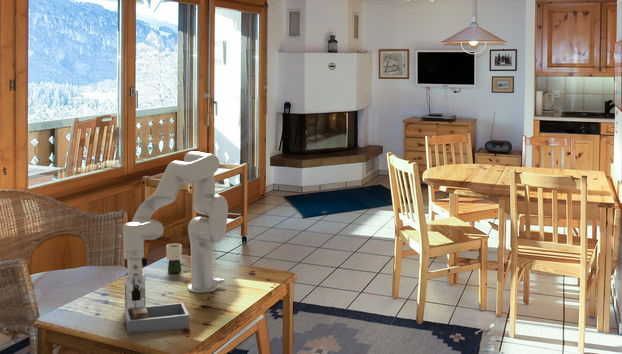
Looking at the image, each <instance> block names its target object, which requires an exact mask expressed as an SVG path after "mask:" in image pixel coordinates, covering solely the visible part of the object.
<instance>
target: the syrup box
mask: <svg viewBox="0 0 622 354" xmlns="http://www.w3.org/2000/svg"><path fill="white" fill-rule="evenodd" d="M142 275H143V283H142V284H141V283H140V282H139V286H140V300H137V301H132V284H130V280H129V276H128V274H126V275H124V305H125V306H124V309H125V308H134V307H144V306H146V275H145V274H144V273H142ZM133 283H135V281H134V279H133ZM134 286H135V285H134Z"/></svg>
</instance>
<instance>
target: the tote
mask: <svg viewBox="0 0 622 354" xmlns="http://www.w3.org/2000/svg"><path fill="white" fill-rule="evenodd" d="M140 308H146V309H147V312H148V318H146V319H137V320H133V309H140ZM124 322H125V326H126V330H127V334H128V336H129V335H137V334H145V333H155V332H164V331H171V330H180V329H189V328H190V314H189V312H188V309H187V308H186V306H185V304H184V302H176V303H166V304H165V303H163V304H155V305H147V306H144V307H134V308H125V307H124Z"/></svg>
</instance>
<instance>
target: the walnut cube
mask: <svg viewBox="0 0 622 354" xmlns="http://www.w3.org/2000/svg"><path fill="white" fill-rule="evenodd" d="M146 318H148V312H147V309H146V308H140V309H133V320H137V319H146Z"/></svg>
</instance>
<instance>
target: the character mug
mask: <svg viewBox="0 0 622 354" xmlns="http://www.w3.org/2000/svg"><path fill="white" fill-rule="evenodd" d="M165 249H166V253H165V255H166V259H167V260H168V264H167V265H168V267H167V273H169V274H172V273H173V274H174V273H175V274H177V273H181V272H182V266H181V259H182V258H183V254H182V253H183V252H182V251H183V246H182V244H180V243H168V244H166V247H165Z"/></svg>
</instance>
